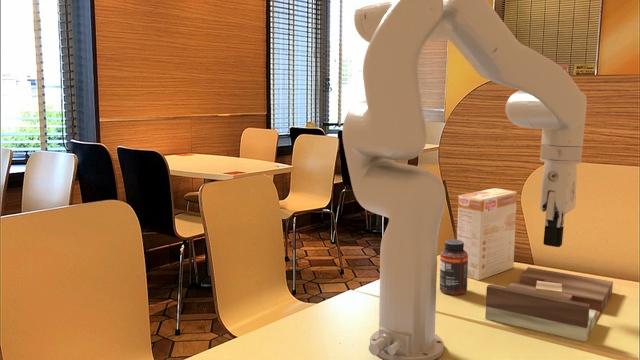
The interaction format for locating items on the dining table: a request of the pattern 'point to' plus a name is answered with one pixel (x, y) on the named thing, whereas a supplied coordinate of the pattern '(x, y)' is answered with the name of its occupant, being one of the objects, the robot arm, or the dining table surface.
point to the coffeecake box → (487, 231)
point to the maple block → (549, 289)
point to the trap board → (550, 303)
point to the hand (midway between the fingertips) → (552, 245)
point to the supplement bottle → (453, 268)
